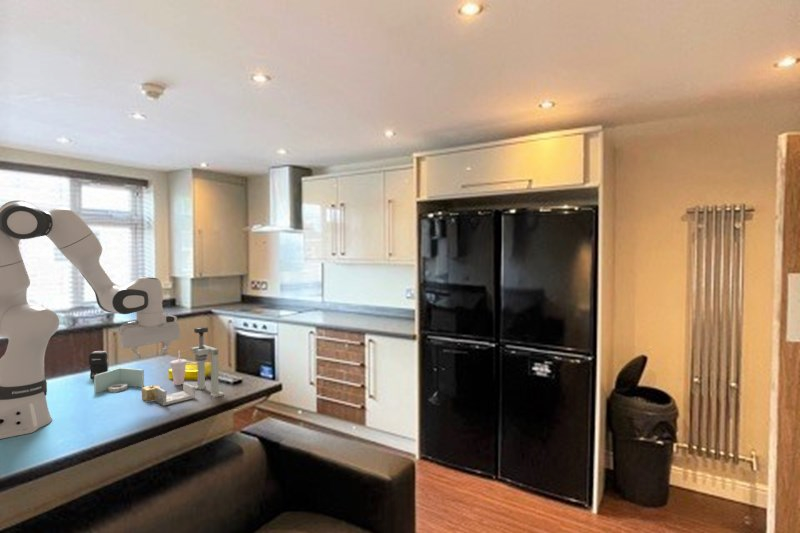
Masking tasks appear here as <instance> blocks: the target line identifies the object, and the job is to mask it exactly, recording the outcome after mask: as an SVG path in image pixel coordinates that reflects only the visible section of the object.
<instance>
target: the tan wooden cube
mask: <svg viewBox="0 0 800 533" xmlns="http://www.w3.org/2000/svg"><path fill="white" fill-rule="evenodd" d="M155 387H159V388H161V389H162V387H161V386H160V385H157V384H151V385H148V386H143V387H141V400H143V401H144V400H145V401H144V402H146V401H147V403H149V401H150V402H153V400H154V401H155Z"/></svg>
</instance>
